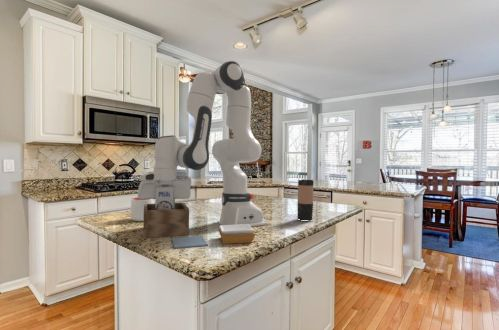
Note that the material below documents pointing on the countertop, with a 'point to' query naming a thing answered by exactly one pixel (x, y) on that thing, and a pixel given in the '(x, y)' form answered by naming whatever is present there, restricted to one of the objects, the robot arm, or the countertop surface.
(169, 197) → the milk carton
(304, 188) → the travel mug
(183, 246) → the mat
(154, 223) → the crate
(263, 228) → the countertop surface
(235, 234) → the soap dish
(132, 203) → the cup
